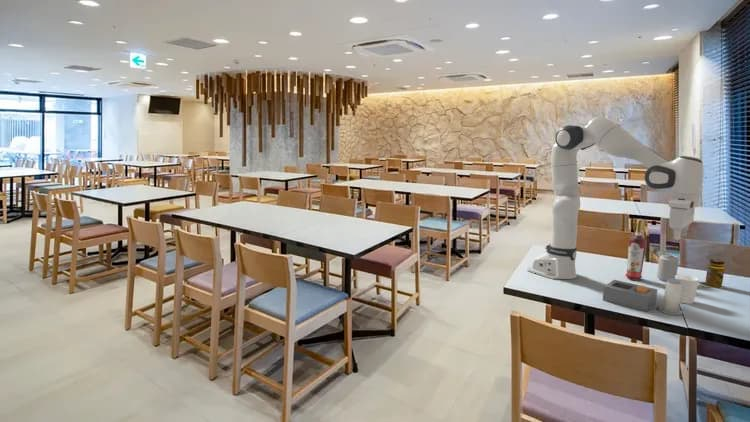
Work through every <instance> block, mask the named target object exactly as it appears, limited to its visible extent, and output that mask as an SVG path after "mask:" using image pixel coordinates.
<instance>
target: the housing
mask: <svg viewBox="0 0 750 422" xmlns="http://www.w3.org/2000/svg"><path fill="white" fill-rule="evenodd" d="M638 285H639V284H634V283H631V282H626V281H622V280H617V279H613V280H611V281H610V282H609V283H606V284H605V285H604V286H603V293H602V301H604V302H608V303H613V304H616V305H620V306H624V307H628V308H632V309H636V310H639V311H643V312H648V311H649V310H650V309H652V308H653V307H654V306H655V305H656V304H657V296H658V289H657V288H652V287H649V286H647V287H648V290H647V293H644V292H639V291H636V287H637V286H638Z"/></svg>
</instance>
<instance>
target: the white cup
mask: <svg viewBox="0 0 750 422" xmlns="http://www.w3.org/2000/svg"><path fill="white" fill-rule="evenodd" d="M675 279H679V280H681V283H682V288H681V295H680V302H679V304H680V303H681V304H687V305H690V304H694V301H695V298H696V294H697V289H698V285H699V283H698V281H699V278H698V277H695V276H693V275H687V274H677V275H675ZM699 282H700V281H699Z"/></svg>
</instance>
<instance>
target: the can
mask: <svg viewBox="0 0 750 422" xmlns="http://www.w3.org/2000/svg"><path fill="white" fill-rule="evenodd" d="M658 258H659V259H658V266H657V275H656V278H658V279H659V280H660V281H662V282H666V281H667V280H668V279H669V278H674V279H675V275H678V268H679V261H680V260H679V259H678V256H677V255H676V254H672V253H661V255H660V256H659V257H658Z"/></svg>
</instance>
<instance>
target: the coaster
mask: <svg viewBox="0 0 750 422" xmlns="http://www.w3.org/2000/svg"><path fill="white" fill-rule="evenodd" d="M657 310H658V312H660V313H662V314H665V315H670V316H676V315H679V316H682V315H683V310H682V309H678V312H669V311H665V310H664V309H663V305H658V306H657Z"/></svg>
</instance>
